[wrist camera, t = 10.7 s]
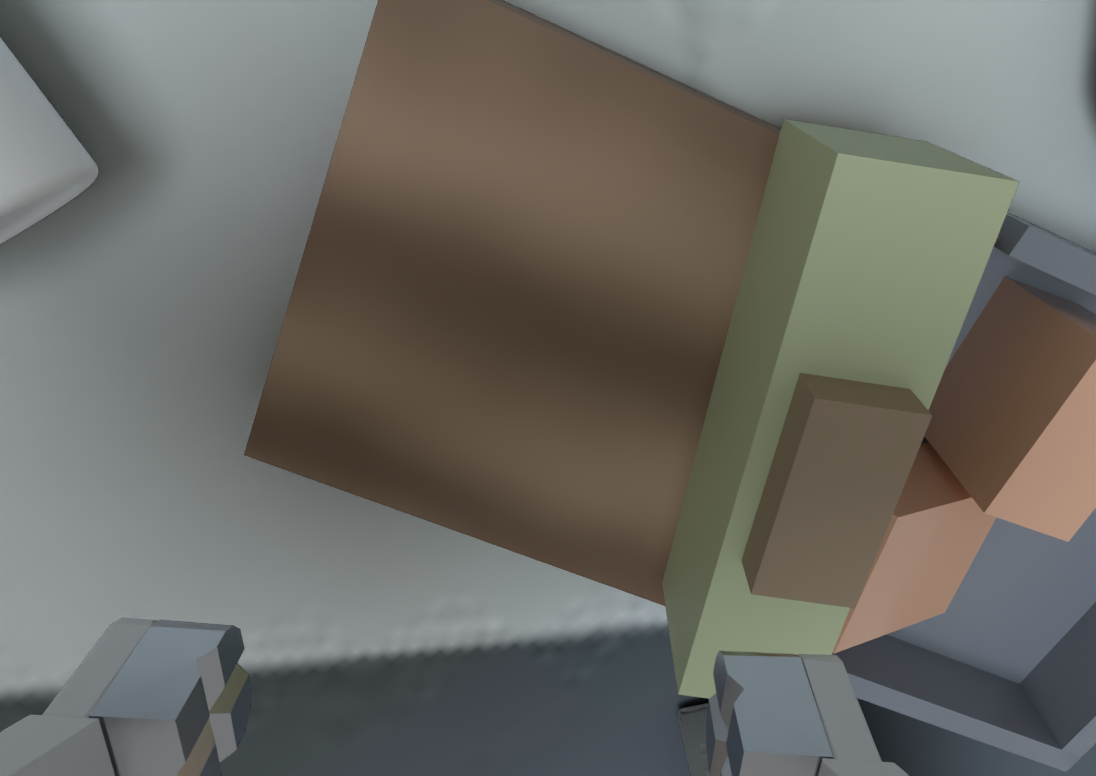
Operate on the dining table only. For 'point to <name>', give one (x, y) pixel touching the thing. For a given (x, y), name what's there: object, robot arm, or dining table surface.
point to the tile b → (1023, 410)
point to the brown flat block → (517, 289)
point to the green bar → (823, 388)
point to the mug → (34, 153)
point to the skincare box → (695, 738)
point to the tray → (1006, 591)
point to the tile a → (919, 553)
